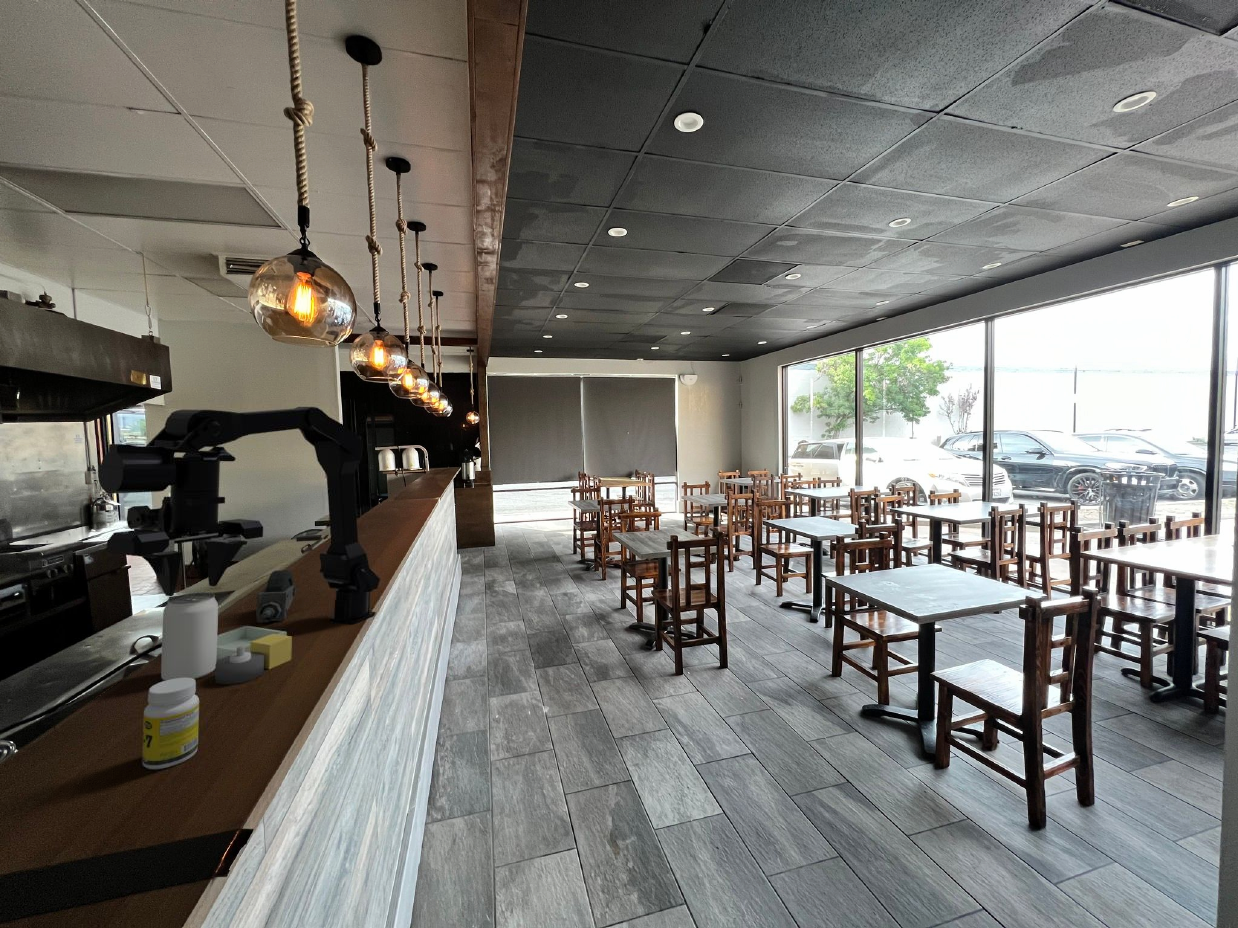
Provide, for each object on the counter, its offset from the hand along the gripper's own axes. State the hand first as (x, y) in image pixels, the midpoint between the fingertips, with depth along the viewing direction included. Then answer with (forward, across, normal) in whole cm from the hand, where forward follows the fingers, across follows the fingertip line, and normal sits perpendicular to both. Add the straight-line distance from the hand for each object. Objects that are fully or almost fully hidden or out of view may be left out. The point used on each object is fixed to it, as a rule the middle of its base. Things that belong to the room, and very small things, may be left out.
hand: (191, 590), depth 77 cm
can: (+13, 0, 0) cm, 13 cm away
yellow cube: (+13, -7, +7) cm, 17 cm away
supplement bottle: (+13, +16, +20) cm, 29 cm away
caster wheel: (+13, -25, -12) cm, 30 cm away
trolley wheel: (+13, -2, +8) cm, 15 cm away
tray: (+13, -9, -1) cm, 16 cm away
